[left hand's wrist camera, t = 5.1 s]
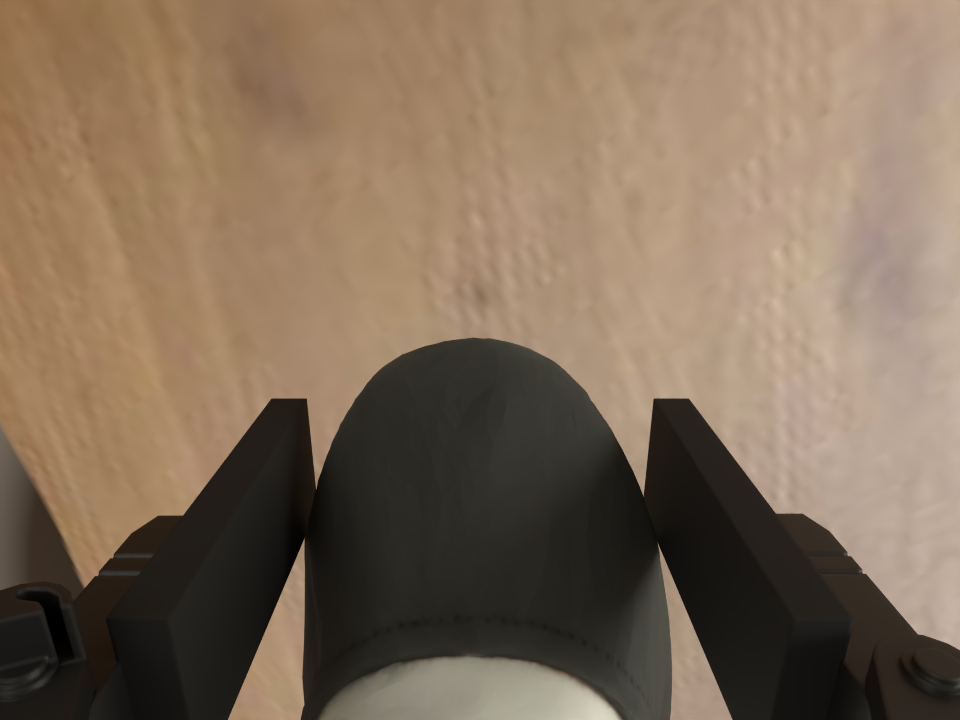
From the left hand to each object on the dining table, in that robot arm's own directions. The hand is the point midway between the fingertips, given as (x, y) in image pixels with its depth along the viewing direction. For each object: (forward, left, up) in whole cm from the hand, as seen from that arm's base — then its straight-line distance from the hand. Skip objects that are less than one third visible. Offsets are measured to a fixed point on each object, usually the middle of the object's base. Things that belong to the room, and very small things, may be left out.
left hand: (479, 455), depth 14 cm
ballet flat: (+9, 0, -1) cm, 9 cm away
